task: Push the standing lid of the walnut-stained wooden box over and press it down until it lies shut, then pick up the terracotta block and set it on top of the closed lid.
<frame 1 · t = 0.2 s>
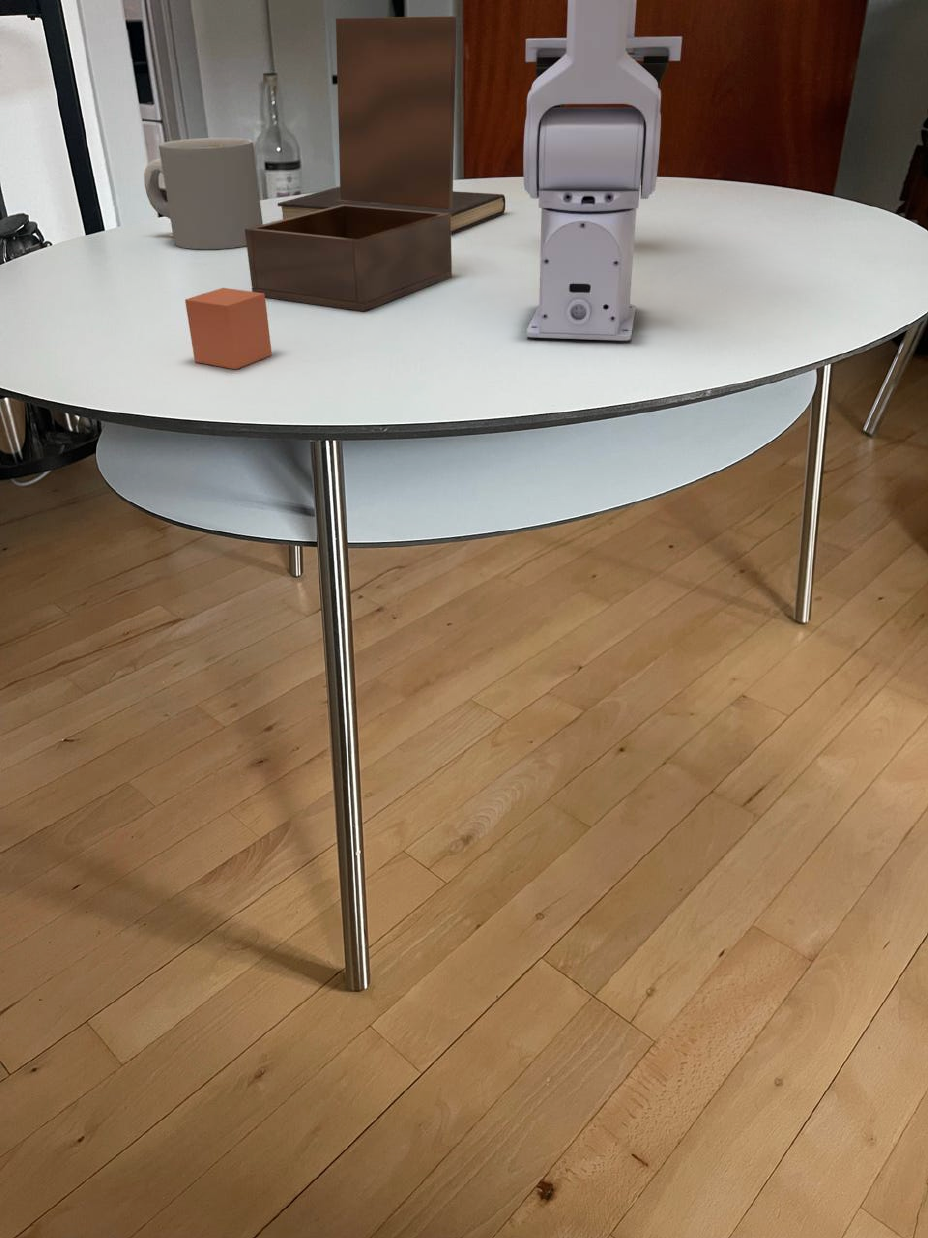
hand: (598, 145, 98), 10 cm above the table, tool pointing down, fingers open, 7 cm apart
lid: (394, 114, 90), point 14 cm above the table, hinge at 95.0°
block: (233, 358, 73), on the table
box: (355, 285, 92), on the table
coffee mug: (208, 240, 112), on the table
hardcover book: (394, 219, 122), on the table
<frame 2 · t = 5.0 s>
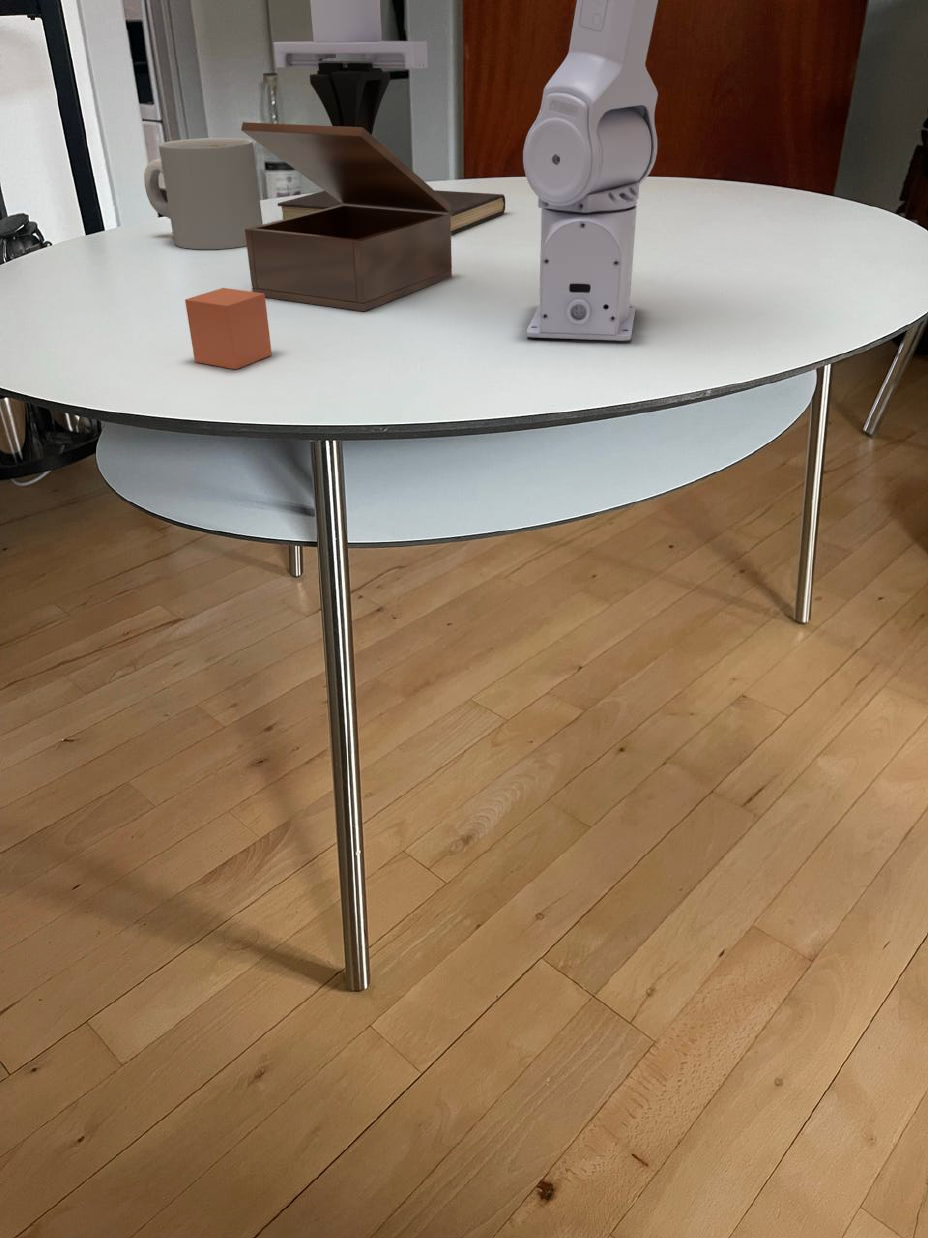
hand: (355, 161, 87), 10 cm above the table, tool pointing down, fingers closed
lid: (351, 169, 87), point 10 cm above the table, hinge at 29.9°, touching gripper
everything else where it was.
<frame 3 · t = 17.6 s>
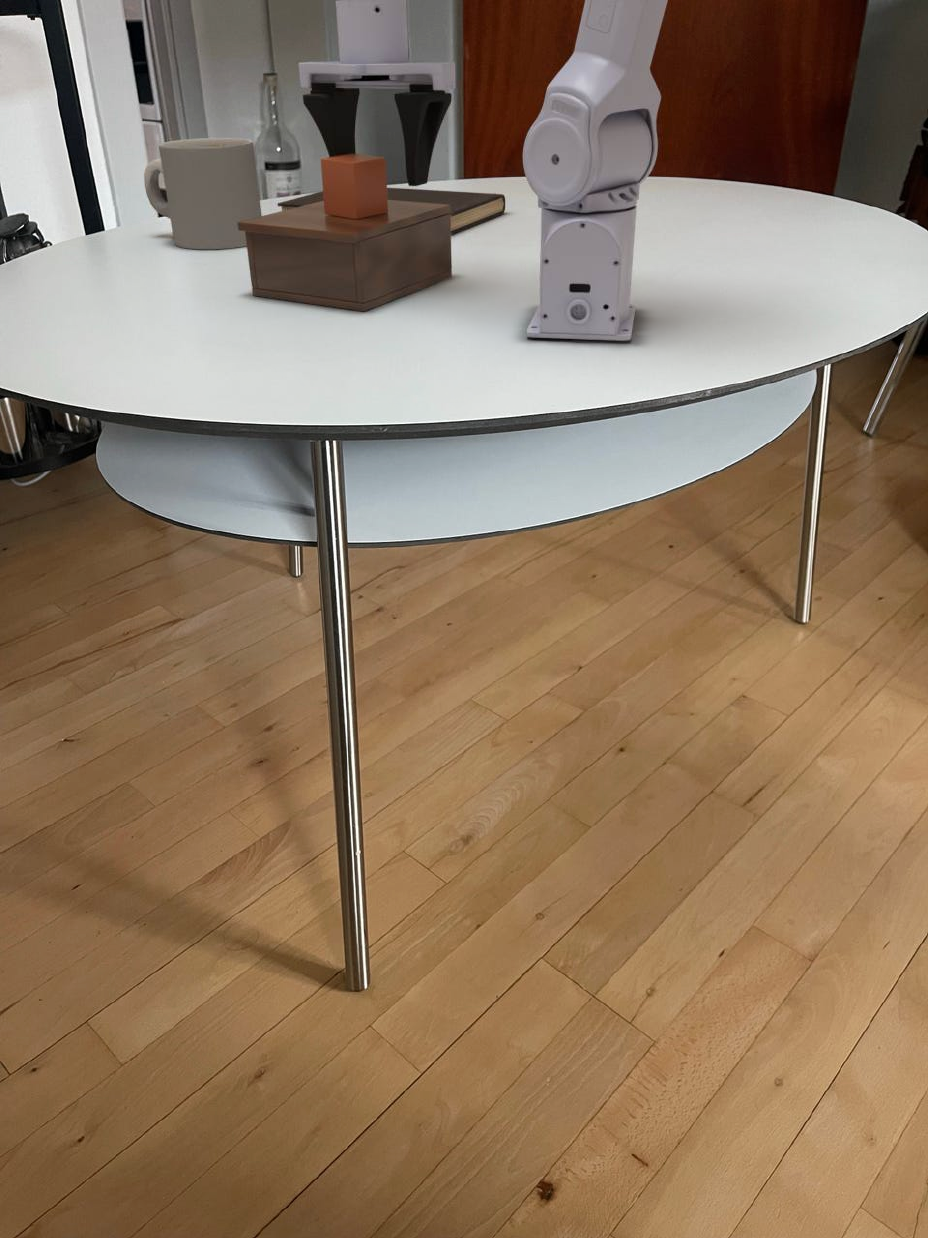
hand: (381, 182, 87), 9 cm above the table, tool pointing down, fingers open, 7 cm apart
lid: (347, 217, 88), point 6 cm above the table, hinge at -0.2°, touching box
block: (356, 213, 88), point 6 cm above the table
everything else where it was.
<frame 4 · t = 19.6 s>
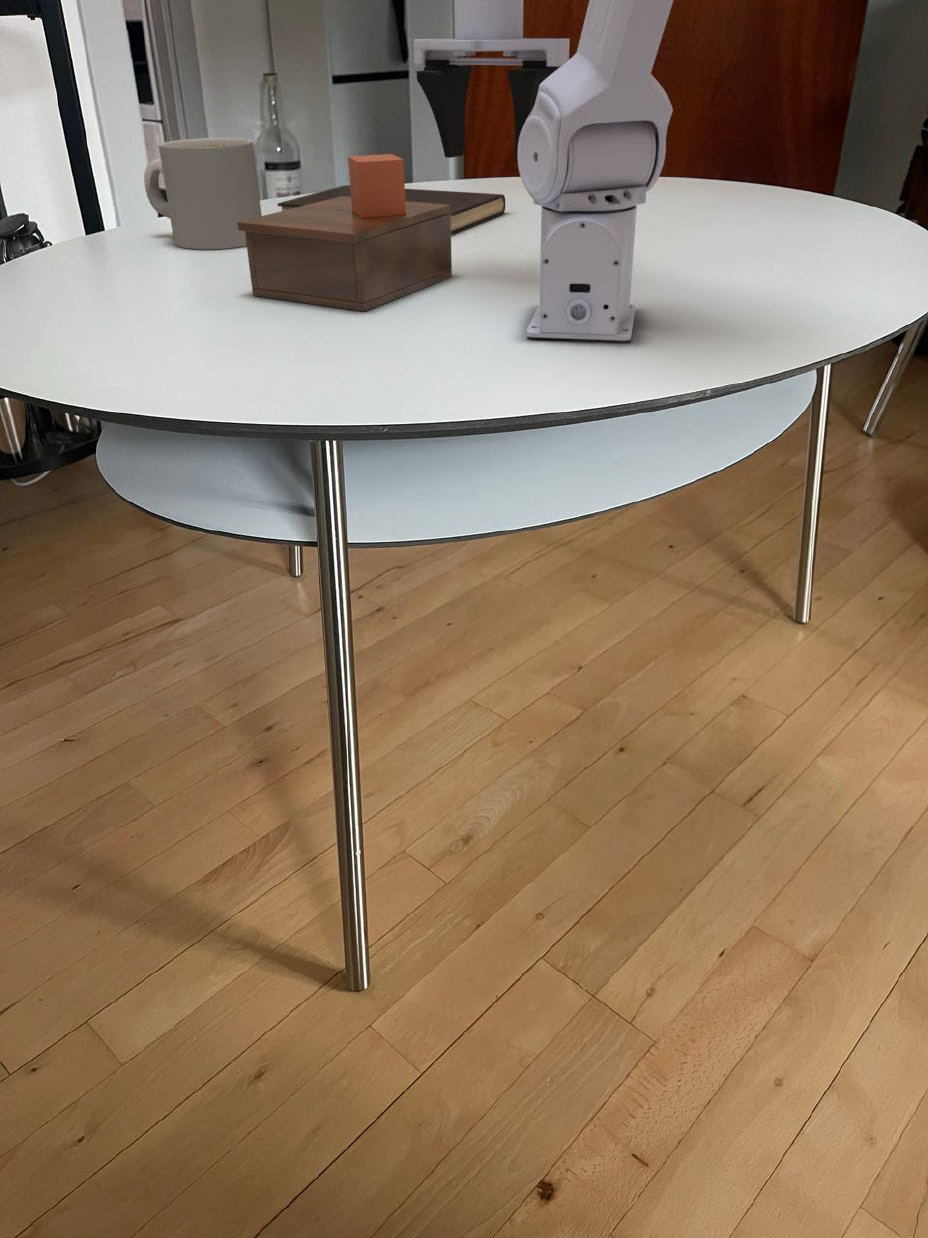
hand: (489, 158, 88), 10 cm above the table, tool pointing down, fingers open, 7 cm apart
lid: (347, 217, 88), point 6 cm above the table, hinge at -0.2°, touching block, box
block: (378, 212, 88), point 6 cm above the table, touching lid
everything else where it was.
at the end: lid at +0° (first picture: +95°); block inside the target area on the box (2.7 cm from its centre), point 6.4 cm above the box's base; block tilted 0° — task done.
